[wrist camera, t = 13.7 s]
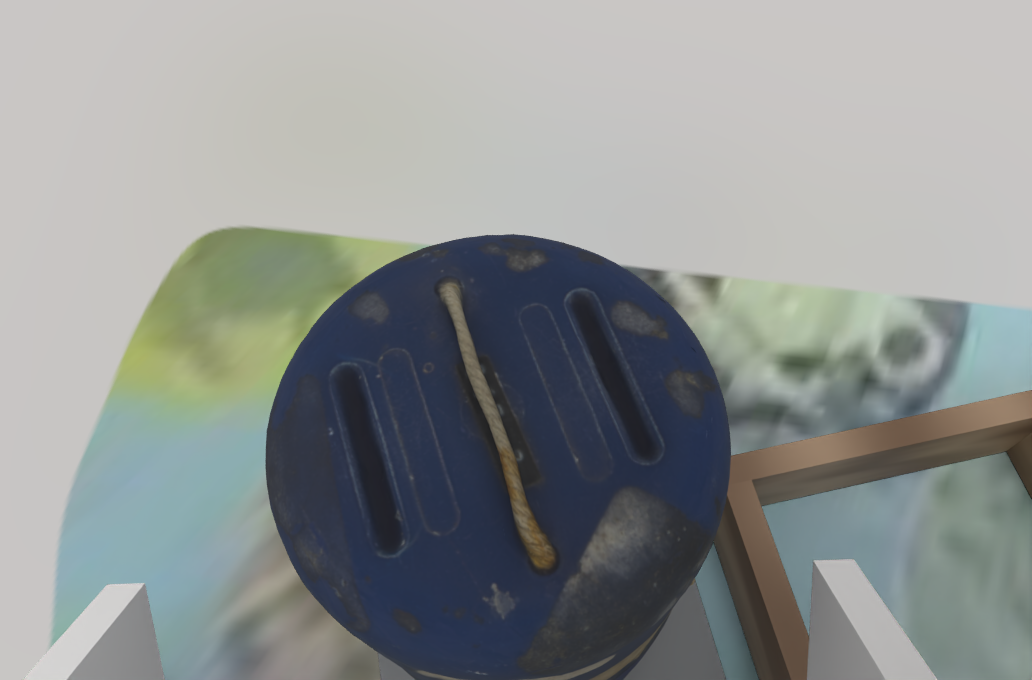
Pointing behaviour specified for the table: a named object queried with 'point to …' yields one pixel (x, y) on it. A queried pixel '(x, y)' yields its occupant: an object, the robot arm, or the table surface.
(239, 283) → the table surface
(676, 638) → the mat
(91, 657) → the robot arm
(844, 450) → the holder
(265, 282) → the table surface
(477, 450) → the canister
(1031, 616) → the table surface
